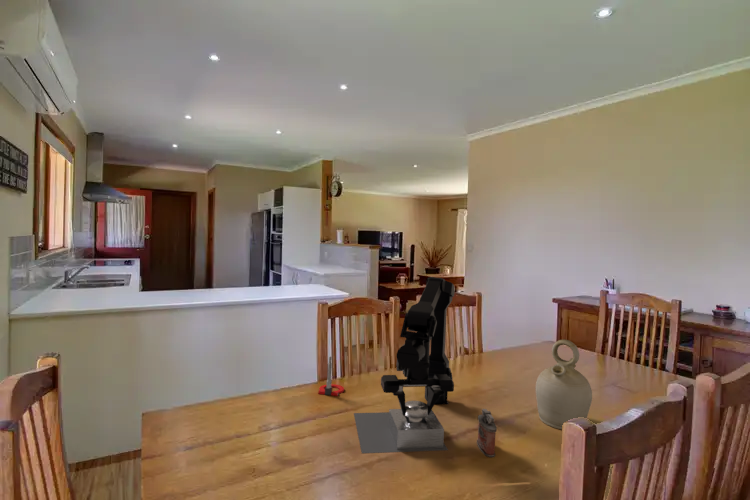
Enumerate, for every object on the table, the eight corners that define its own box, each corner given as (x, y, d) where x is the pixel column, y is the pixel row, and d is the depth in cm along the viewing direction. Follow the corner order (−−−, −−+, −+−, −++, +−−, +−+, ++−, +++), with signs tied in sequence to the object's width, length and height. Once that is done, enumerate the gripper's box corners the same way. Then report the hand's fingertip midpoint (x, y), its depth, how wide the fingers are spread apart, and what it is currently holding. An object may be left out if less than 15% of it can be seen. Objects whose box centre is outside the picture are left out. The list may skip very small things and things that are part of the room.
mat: (425, 412, 125) (425, 411, 125) (448, 451, 103) (448, 450, 103) (353, 414, 122) (353, 413, 121) (361, 454, 100) (361, 453, 100)
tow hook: (323, 386, 144) (315, 395, 134) (325, 349, 144) (317, 356, 135) (346, 388, 142) (340, 398, 133) (348, 351, 142) (342, 358, 133)
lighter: (474, 442, 108) (476, 405, 108) (486, 442, 108) (488, 405, 108) (484, 459, 100) (486, 419, 100) (498, 459, 100) (500, 419, 100)
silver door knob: (423, 423, 112) (424, 400, 112) (429, 435, 106) (431, 410, 106) (400, 424, 111) (401, 400, 111) (405, 435, 105) (406, 411, 105)
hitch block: (430, 425, 116) (430, 408, 115) (443, 448, 104) (444, 428, 103) (388, 426, 114) (389, 409, 114) (396, 449, 102) (397, 430, 102)
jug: (566, 438, 112) (572, 349, 111) (522, 415, 126) (527, 335, 125) (601, 428, 119) (607, 344, 118) (556, 407, 133) (561, 331, 132)
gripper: (442, 348, 117) (440, 401, 118) (378, 348, 114) (376, 402, 115) (456, 360, 106) (453, 419, 107) (385, 361, 103) (383, 421, 104)
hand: (415, 414), depth 109 cm, fingers closed on silver door knob, 6 cm apart
